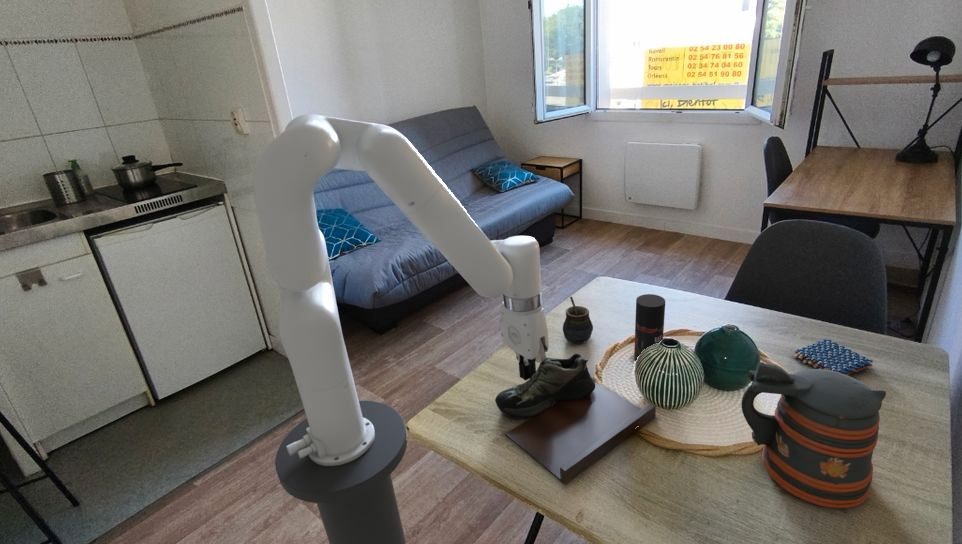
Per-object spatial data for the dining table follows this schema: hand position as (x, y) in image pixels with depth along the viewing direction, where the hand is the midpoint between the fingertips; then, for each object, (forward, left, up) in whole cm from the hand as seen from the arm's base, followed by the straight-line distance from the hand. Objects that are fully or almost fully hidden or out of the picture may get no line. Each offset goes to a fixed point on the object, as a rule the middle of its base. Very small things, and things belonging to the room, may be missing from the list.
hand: (528, 376), depth 106 cm
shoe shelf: (0, -15, -4) cm, 15 cm away
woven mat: (+53, -37, -4) cm, 65 cm away
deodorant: (+27, -10, -4) cm, 29 cm away
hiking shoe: (0, -5, -4) cm, 6 cm away
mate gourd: (+22, +7, -4) cm, 23 cm away
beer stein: (+18, -46, -4) cm, 50 cm away
